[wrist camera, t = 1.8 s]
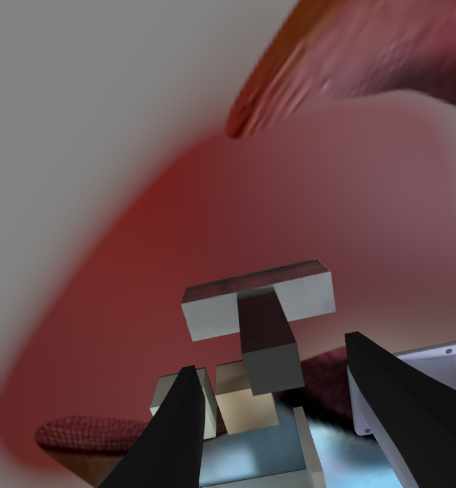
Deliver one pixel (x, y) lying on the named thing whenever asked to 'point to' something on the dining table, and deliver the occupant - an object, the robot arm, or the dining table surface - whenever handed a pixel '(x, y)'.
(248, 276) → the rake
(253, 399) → the chip
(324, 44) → the dining table surface
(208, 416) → the pale green block
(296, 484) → the corral
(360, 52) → the dining table surface
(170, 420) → the robot arm
